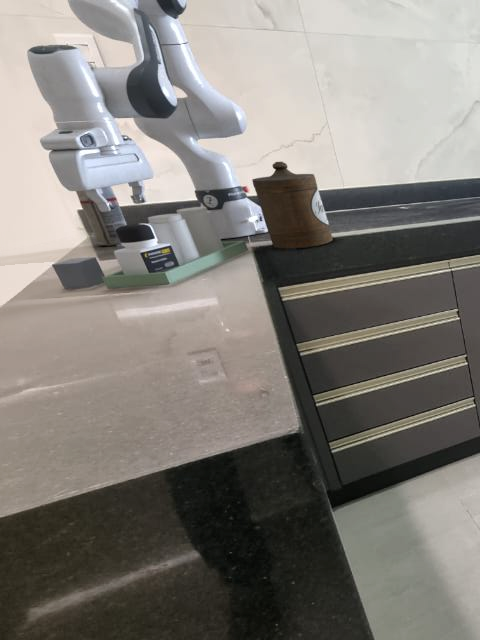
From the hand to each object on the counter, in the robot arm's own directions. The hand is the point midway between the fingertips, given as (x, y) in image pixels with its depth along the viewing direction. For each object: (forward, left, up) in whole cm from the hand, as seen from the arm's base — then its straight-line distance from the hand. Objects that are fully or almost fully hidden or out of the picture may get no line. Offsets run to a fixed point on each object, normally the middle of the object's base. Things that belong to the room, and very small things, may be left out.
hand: (124, 207), depth 113 cm
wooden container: (-32, +18, -17) cm, 40 cm away
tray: (-10, 0, -16) cm, 19 cm away
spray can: (-52, -45, -17) cm, 71 cm away
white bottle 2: (-20, 0, -16) cm, 25 cm away
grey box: (+1, -14, -16) cm, 21 cm away
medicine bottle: (0, 0, -16) cm, 16 cm away
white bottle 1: (-10, 0, -16) cm, 19 cm away
